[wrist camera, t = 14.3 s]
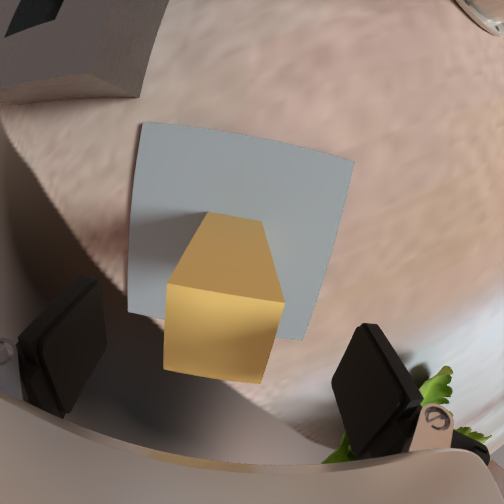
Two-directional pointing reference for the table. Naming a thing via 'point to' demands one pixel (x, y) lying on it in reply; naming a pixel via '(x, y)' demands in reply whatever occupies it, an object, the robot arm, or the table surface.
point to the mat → (233, 210)
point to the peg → (223, 302)
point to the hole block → (75, 48)
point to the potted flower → (431, 393)
